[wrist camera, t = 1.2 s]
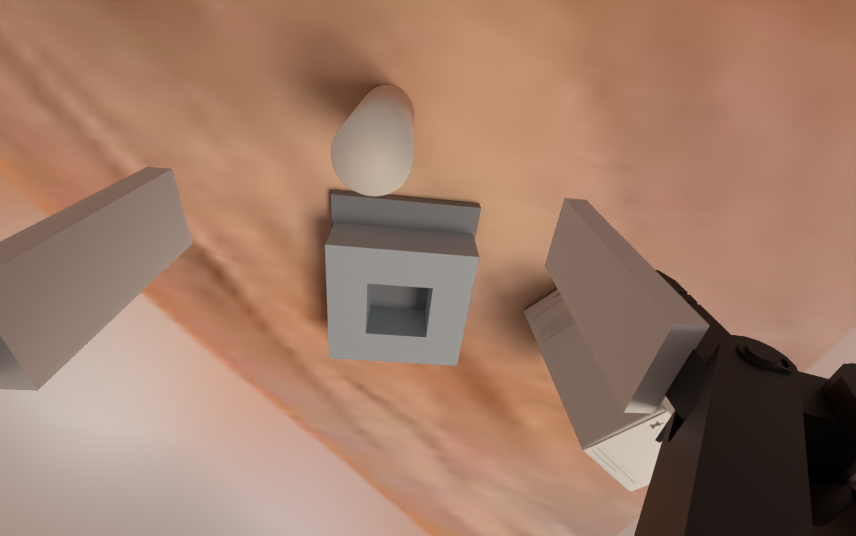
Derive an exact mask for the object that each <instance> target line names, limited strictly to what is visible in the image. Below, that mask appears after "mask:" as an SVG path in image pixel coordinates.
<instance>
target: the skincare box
mask: <svg viewBox="0 0 856 536" xmlns="http://www.w3.org/2000/svg"><path fill="white" fill-rule="evenodd" d="M524 314H525V317H526V319H527V321H528V323H529V326H530V328H531V330H532V333H533V335H534V337H535V340H536V342H537V344H538V346H539V349H540V351H541V354H542V356H543V358H544V361H545V363H546V365H547V367H548V370H549V372H550V375H551V377H552V379H553V382H554V384H555V386H556V389H557V391H558V393H559V396H560V398H561V400H562V403H563V405H564V407H565V410H566V412H567V414H568V417H569V419H570V421H571V423H572V426H573V428H574V431H575V433H576V435H577V438H578V440H579V442H580V445H581V447H582V450H583V451H584V452H585V453H586V454H588V455H589V456H590V457H591V458H592V459H593V460H595V461H596V462H597V463H598V464H599V465H600V466H601V467H602V468H603V469H605V470H606V471H607V472H608V473H609V474H610V475H611V476H612V477H614V478H615V479H616V480H617V481H618V482H619V483H620V484H622V485H623V486H624V487H625V488H626V489H627V490H629V491H633V490H636V489H639V488H641V487H644V486H646V485H648V484H650V480H651V477H652V474H653V470H654V467H655V464H656V460H657V457H658V453H659V450H660V447H661V443H662V441H661V443H659V442H657V441H655V439H656V438H657V436H658V435H659V433H660V432H661V430H662V429H663V427H664V426H665V424H666V423H667V422H668V420H669V419H670V417H671V416H672V414H673V413H674V411H675V410H674V409H673V407H672V406H671V404H670V403H669V401H668V400H667V399H666V397H665V398H664V400H663V401H662V403H661V404H660V406H659V408H658V409H657V411H656V412H655V414H651V413H624V412H623V410H622V408H621V406H620V404H619V403H618V401H617V399H616V397H615V395H614V393H613V391H612V390H611V388H610V386H609V384H608V382H607V380H606V378H605V377H604V375H603V373H602V371H601V369H600V367H599V365H598V363H597V362H596V360H595V358H594V356H593V354H592V352H591V350H590V349H589V347H588V345H587V343H586V341H585V339H584V337H583V336H582V334H581V332H580V330H579V328H578V326H577V324H576V323H575V321H574V319H573V317H572V315H571V313H570V311H569V310H568V308H567V306H566V304H565V302H564V300H563V298H562V297H561V295H560V293H559V291H558V289H557V290H555V291H554V292H552V293H551V294H549V295H547V296H546V297H544V298H543V299H541V300H540V301H538V302H537V303H535V304H533V305H532V306H530V307H529V308H527V309H526V310H525V311H524Z"/></svg>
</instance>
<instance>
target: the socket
mask: <svg viewBox="0 0 856 536" xmlns="http://www.w3.org/2000/svg"><path fill="white" fill-rule="evenodd" d="M480 210H481V207H480V205H479V203H468V202H457V201H446V200H436V199H425V198H414V197H403V196H392V195H383V196H367V195H363V194H360V193H357V192H349V191H338V190H333V191H332V193H331V224H332V229H331V231H330V234H329V236H328V238H327V241H326V243H325V262H326V287H327V313H328V338H329V358H335V359H352V360H369V361H387V362H404V363H421V364H439V365H456V366H457V363H458V358H459V353H460V348H461V343H462V339H463V334H464V329H465V324H466V319H467V314H468V310H469V305H470V300H471V295H472V290H473V285H474V281H475V276H476V271H477V266H478V261H479V254H478V251H477V247H476V243H475V235H476V230H477V225H478V220H479V215H480Z"/></svg>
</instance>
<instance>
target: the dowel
mask: <svg viewBox="0 0 856 536" xmlns="http://www.w3.org/2000/svg"><path fill="white" fill-rule="evenodd" d="M413 131H414V109H413V105H412V102H411V100H410V98H409V97H408V95H407V94H406V93H405V92H404V91H403V90H401V89H400V88H398V87H396V86H393V85H380V86H377V87H375V88H373V89H372V90H370V91H369V92H368V93H367V95H366V96H365V97H364V98H363V100H362V101H361V102H360V103H359V105H358V106H357V107H356V108H355V109H354V111H353V112H352V113H351V114H350V116H349V117H348V118H347V119H346V121H345V122H344V123H343V124H342V126H341V127H340V128H339V129H338V131H337V132H336V134H335V136H334V139H333V142H332V146H331V159H332V164H333V167H334V169H335V171H336V173H337V175H338V177H339V178H340V179H341V181H342V182H343V183H344V184H345V185H346V186H347V187H349V188H350V189H352V190H353V191H355V192H357V193H360V194H363V195H367V196H383V195H387V194H389V193H392V192H394V191H395V190H397V189H398V188H399V187H401V186H402V185H403V184H404V182H405V181H406V180H407V178H408V176H409V174H410V172H411V168H412V163H413Z"/></svg>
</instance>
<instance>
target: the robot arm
mask: <svg viewBox="0 0 856 536" xmlns="http://www.w3.org/2000/svg"><path fill="white" fill-rule="evenodd" d="M191 244H192V240H191V236H190V232H189V229H188V225H187V221H186V218H185V214H184V211H183V207H182V203H181V200H180V196H179V192H178V189H177V185H176V182H175V178H174V174H173V171H172V169H168V168H155V167H146V168H144V169H142V170H140V171H138V172H136V173H134V174H133V175H131V176H129V177H127V178H125V179H123V180H121V181H119V182H117V183H115V184H113V185H111V186H109V187H107V188H105V189H103V190H101V191H99V192H97V193H95V194H93V195H91V196H89V197H87V198H85V199H83V200H81V201H79V202H77V203H75V204H73V205H72V206H70V207H68V208H66V209H64V210H62V211H60V212H58V213H56V214H54V215H52V216H50V217H48V218H46V219H44V220H42V221H40V222H38V223H36V224H34V225H32V226H30V227H28V228H26V229H24V230H22V231H20V232H18V233H16V234H14V235H12V236H11V237H9V238H7V239H5V240H3V241H1V242H0V389H15V390H38V389H40V387H41V386H43V385H44V384H45V383H46V382H47V381H48V380H49V379H50V378H51V377H52V376H53V375H54V374H55V373H56V372H57V371H58V370H60V369H61V368H62V367H63V366H64V365H65V364H66V363H67V362H68V361H69V360H70V359H71V358H72V357H73V356H74V355H75V354H76V353H77V352H78V351H79V350H81V348H83V346H85V345H86V344H87V343H88V342H89V341H90V340H91V339H92V338H93V337H94V336H95V335H96V334H97V333H99V332H100V331H101V330H102V329H103V328H104V327H105V326H106V325H107V324H108V323H109V322H110V321H111V320H112V319H113V318H114V317H115V316H116V315H118V313H120V312H121V311H122V309H124V308H125V307H126V306H127V305H128V304H129V303H130V302H131V301H132V300H133V299H134V298H135V297H136V296H138V295H139V294H140V293H141V292H142V291H143V290H144V289H145V288H146V287H147V286H148V285H149V284H150V283H151V282H152V281H153V280H154V279H155V278H156V277H158V276H159V275H160V274H161V273H162V272H163V271H164V270H165V269H166V268H167V267H168V266H169V265H170V264H171V263H172V262H173V261H174V260H175V259H177V258H178V257H179V256H180V255H181V254H182V253H183V252H184V251H185V250H186V249H187V248H188V247H189V246H190V245H191ZM545 267H546V269H547V271H548V272H549V274H550V276H551V278H552V280H553V282H554V284H555V285H556V287H557V289H558V291H559V293H560V295H561V297H562V298H563V300H564V302H565V304H566V306H567V308H568V310H569V311H570V313H571V315H572V317H573V319H574V321H575V323H576V324H577V326H578V328H579V330H580V332H581V334H582V336H583V337H584V339H585V341H586V343H587V345H588V347H589V349H590V350H591V352H592V354H593V356H594V358H595V360H596V362H597V363H598V365H599V367H600V369H601V371H602V373H603V375H604V377H605V378H606V380H607V382H608V384H609V386H610V388H611V390H612V391H613V393H614V395H615V397H616V399H617V401H618V403H619V404H620V406H621V408H622V410H623V412H624V413H651V414H655V412H656V411H657V409H658V408H659V406H660V404H661V403H662V401H663V400H664V398H665V396H666V397H667V398H668V400H669V401H670V403H671V404H672V406H673V407H674V409H675V411H674V413H673V414H672V416H671V417H670V419H669V420H668V422H667V423H666V424H665V426H664V427H663V429H662V430H661V432H660V433H659V435H658V436H657V438H656V439H655V441H657V442H659V443H661V441H662V443H661V447H660V450H659V453H658V457H657V460H656V464H655V467H654V470H653V474H652V477H651V480H650V484H649V487H648V491H647V494H646V497H645V501H644V504H643V507H642V511H641V514H640V518H639V521H638V524H637V528H636V531H635V535H634V536H856V364H854V363H852V364H843V365H842V366H841V367H840V368H839V369H838V370H837V371H836V372H835V373H834V374H833V375H832V377H831V378H830V379H826V378H822V377H818V376H815V375H811V374H807V373H803V372H799V371H798V370H797V368H796V366H795V365H794V364H793V363H792V362H791V361H790V360H789V359H788V358H787V357H786V356H785V355H783V354H782V353H780V352H779V351H777V350H776V349H774V348H773V347H771V346H768V345H766V344H764V343H762V342H760V341H758V340H754V339H751V338H748V337H745V336H737V335H731V334H730V333H729V332H728V331H726V330H725V329H724V328H723V327H722V326H721V325H720V324H719V323H718V322H717V321H716V320H715V319H714V318H713V317H712V316H711V315H710V314H709V313H708V312H707V311H706V310H705V309H704V308H703V307H702V306H701V305H697V301H696V300H695V299H694V298H693V297H692V296H691V295H687V291H685V290H684V289H683V288H682V287H681V286H680V285H679V284H678V283H677V282H676V281H675V280H673V279H672V278H670V277H669V276H667V275H665V274H664V273H662V272H660V271H659V270H655V269H654V268H653V267H652V266H651V265H650V264H649V263H648V262H647V261H646V260H645V259H644V258H643V257H642V256H641V255H640V254H639V253H638V252H637V251H636V250H635V249H634V248H633V247H632V246H631V245H630V244H629V243H628V242H627V241H626V240H625V239H624V238H623V237H622V236H621V235H620V234H619V233H618V232H617V231H616V230H615V229H614V228H613V227H612V226H611V225H610V224H609V223H608V222H607V221H606V220H605V219H604V218H603V217H602V216H601V215H600V214H599V213H598V212H597V211H596V210H595V209H594V208H593V207H592V206H591V205H590V204H589V203H588V201H587V200H581V199H567V198H565V199H564V202H563V205H562V209H561V212H560V216H559V219H558V222H557V226H556V229H555V233H554V236H553V239H552V243H551V246H550V250H549V253H548V256H547V260H546V263H545Z"/></svg>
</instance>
